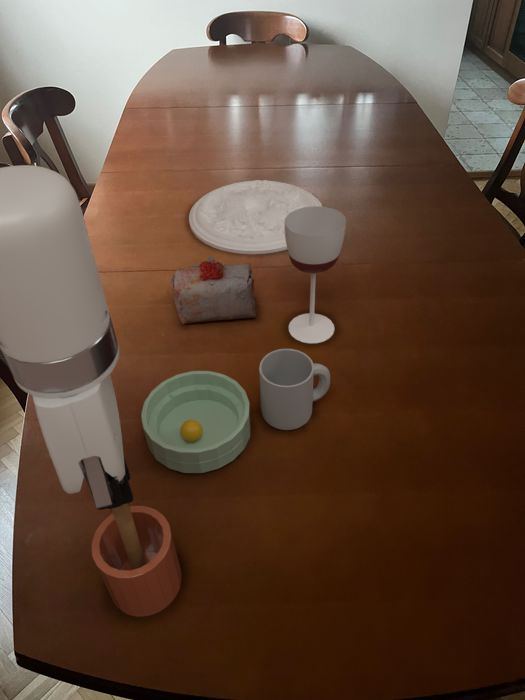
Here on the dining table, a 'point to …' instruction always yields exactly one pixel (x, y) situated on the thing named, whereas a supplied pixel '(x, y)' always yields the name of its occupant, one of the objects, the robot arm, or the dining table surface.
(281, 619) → the dining table surface
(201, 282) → the food item
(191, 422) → the ball
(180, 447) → the bowl
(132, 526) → the stirring stick
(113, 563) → the utensil pot
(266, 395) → the cup
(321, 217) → the wineglass
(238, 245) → the ceiling medallion
